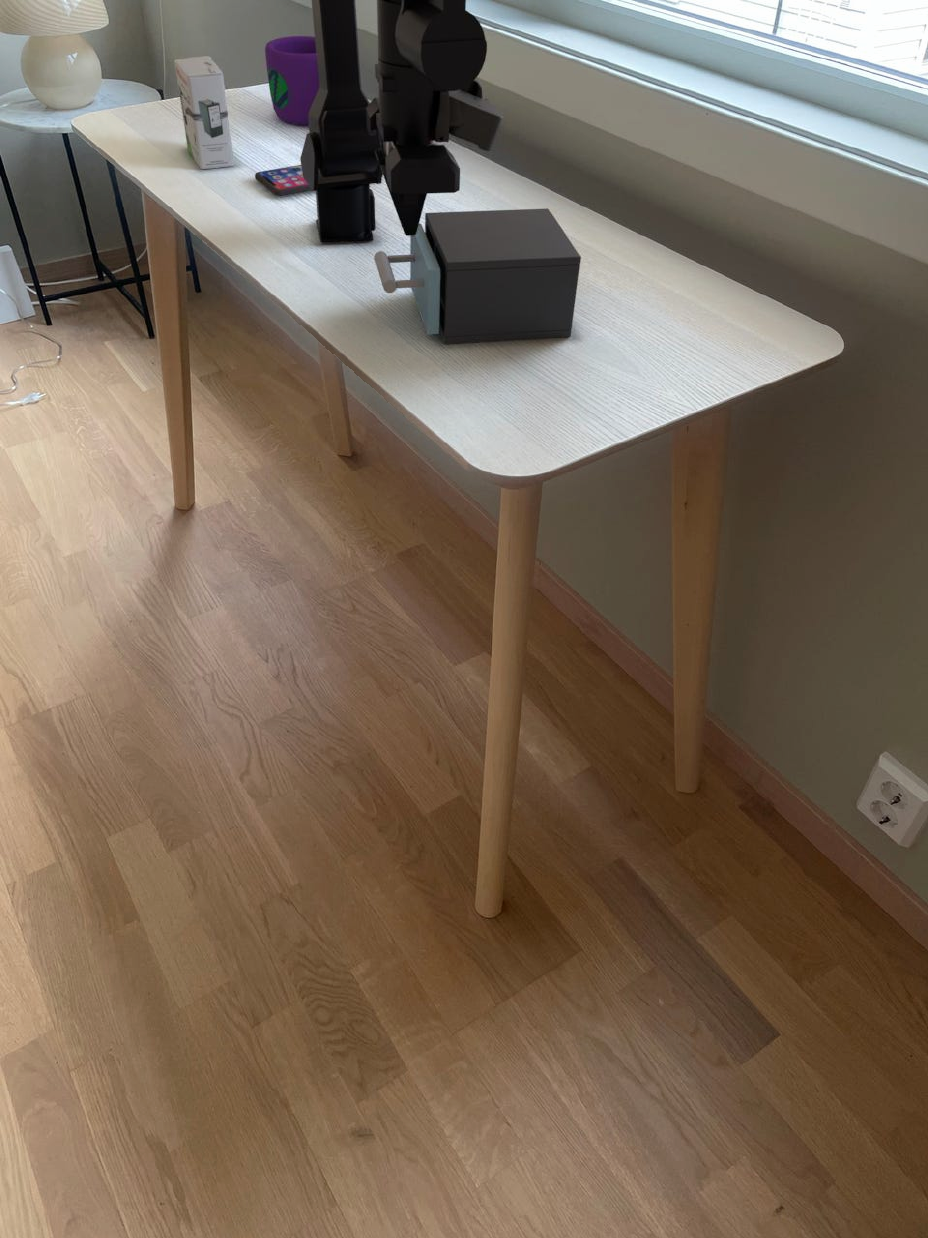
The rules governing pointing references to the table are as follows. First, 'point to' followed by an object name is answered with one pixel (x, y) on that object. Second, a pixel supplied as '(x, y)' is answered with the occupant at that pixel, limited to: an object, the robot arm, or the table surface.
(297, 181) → the smartphone
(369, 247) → the table surface
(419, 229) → the light blue drawer
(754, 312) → the table surface
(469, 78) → the robot arm
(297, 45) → the mug
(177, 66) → the ink box
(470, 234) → the dark grey drawer cabinet
